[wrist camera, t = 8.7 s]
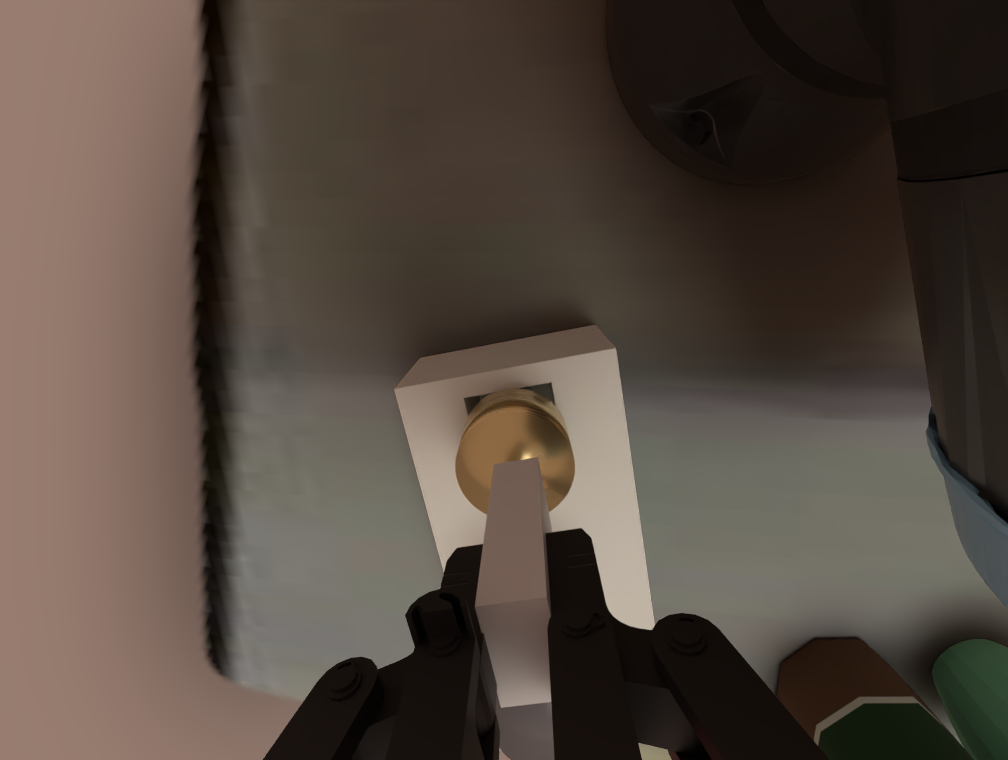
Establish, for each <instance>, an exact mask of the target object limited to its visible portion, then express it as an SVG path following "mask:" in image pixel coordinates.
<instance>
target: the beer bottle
mask: <svg viewBox="0 0 1008 760" xmlns="http://www.w3.org/2000/svg"><path fill="white" fill-rule="evenodd" d="M777 698H778V699H779V701H780V702H781V703H782V704H783V705H784V706H785V708H786V709H787V710H788V711H789V712H790V713H791V715H792V716H793V717H794V718H795V719H796V721H797V722H798V723H799V724H800V725H801V726H802V728H803V729H804V730H805V731H806V732H807V733H808V735H809V736H810V737H811V738H812V739H813V741H814V742H815V743H816V744H817V745H818V746H819V748H820V749H821V750H822V751H823V752H824V753H825V755H826V756H827V757H828V758H829V759H830V760H974V759H973V758H972V757H971V756H970V755H969V754H968V752H967V751H966V750H965V749H964V748H963V747H962V745H961V744H960V743H959V742H958V741H957V740H956V739H955V737H954V736H953V735H952V734H951V733H950V732H949V731H948V729H947V728H946V727H945V726H944V725H943V724H942V723H941V721H940V720H939V719H938V718H937V717H936V716H935V715H934V713H933V712H932V711H931V710H930V709H929V708H928V706H927V705H926V704H925V703H924V702H923V701H922V700H921V698H920V697H919V696H918V695H917V694H916V693H915V692H914V690H913V689H912V688H911V687H910V686H909V685H908V684H907V683H906V682H905V681H904V680H903V679H902V678H901V677H900V676H899V675H898V674H897V673H896V672H895V671H894V669H893V668H892V667H891V666H890V665H889V664H887V663H886V662H885V661H884V660H883V659H882V658H881V657H880V656H879V655H878V654H877V653H876V652H875V651H874V650H872V649H871V648H870V647H869V646H868V645H867V644H866V643H865V642H864V641H862V640H860V639H814V640H813V641H811V642H810V643H809V644H807V645H806V646H804V647H803V648H801V649H800V650H799V651H797V652H796V653H794V654H793V655H792V656H790V657H789V658H787V659H786V660H784V661H783V662H782V663H781V669H780V676H779V683H778V690H777Z"/></svg>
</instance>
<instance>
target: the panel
mask: <svg viewBox="0 0 1008 760" xmlns="http://www.w3.org/2000/svg"><path fill="white" fill-rule="evenodd" d="M528 386H529V387H530V388H531V389H532V390H533V391H534V392H536V393H539V394H541V395H543V396H544V397H546V398H547V399H549V400H550V401H551V402H552V403H553V404H554V405H555V406H556V407H557V408H558V410H559V411H560V412H561V414H562V416H563V418H564V420H565V423H566V427H567V431H568V435H569V439H570V443H571V447H572V451H573V455H574V459H575V475H574V480H573V483H572V486H571V488H570V490H569V492H568V494H567V495H566V497H565V498H564V500H563V501H562V502H561V503H560V504H559V505H558V506H557V507H556V508H554V509H553V510H552V511H550V512H549V516H550V521H551V526H552V532H557V531H564V530H571V529H577V528H582V529H583V530H584V531H585V532H586V533H587V534H588V535H589V536H590V537H591V538H592V543H593V547H594V552H595V556H596V561H597V565H598V570H599V574H600V579H601V583H602V588H603V592H604V597H605V601H606V605H607V607H608V610H609V611H610V613H611V614H612V615H613V616H614V617H615V618H616V619H617V620H619V621H620V622H622V623H624V624H626V625H628V626H631V627H636V628H640V629H647V630H652V629H653V627H654V626H655V624H654V617H653V610H652V603H651V596H650V589H649V581H648V574H647V567H646V560H645V553H644V546H643V538H642V531H641V524H640V517H639V510H638V502H637V495H636V488H635V481H634V474H633V467H632V459H631V452H630V445H629V438H628V431H627V424H626V416H625V409H624V402H623V395H622V388H621V380H620V373H619V366H618V359H617V352H616V348H615V346H614V345H613V344H612V343H611V342H610V341H609V340H608V338H607V337H606V336H605V335H604V334H603V333H602V332H601V330H600V329H599V328H598V327H597V326H596V325H590V326H585V327H580V328H575V329H569V330H564V331H559V332H554V333H548V334H543V335H538V336H532V337H527V338H522V339H517V340H511V341H506V342H501V343H495V344H490V345H485V346H480V347H474V348H469V349H464V350H459V351H453V352H448V353H443V354H437V355H432V356H427V357H422V358H419V360H418V361H417V362H416V363H415V364H414V366H413V367H412V368H411V369H410V370H409V372H408V373H407V374H406V375H405V376H404V378H403V379H402V380H401V381H400V382H399V384H398V385H397V386H396V387H395V388H394V391H395V395H396V398H397V402H398V406H399V409H400V413H401V417H402V420H403V424H404V428H405V431H406V435H407V439H408V443H409V446H410V450H411V454H412V457H413V461H414V465H415V468H416V472H417V476H418V479H419V483H420V487H421V490H422V494H423V498H424V501H425V505H426V509H427V512H428V516H429V520H430V523H431V527H432V531H433V534H434V538H435V542H436V545H437V549H438V553H439V556H440V560H441V564H442V567H443V571H444V570H445V566H446V562H447V560H448V558H449V557H450V556H451V555H452V553H453V552H454V551H455V550H456V548H459V547H466V546H472V545H479V544H483V542H484V534H485V527H486V519H487V515H486V514H484V513H483V512H481V511H480V510H478V509H477V508H475V507H474V506H473V505H472V504H471V503H470V502H469V501H468V500H467V498H466V497H465V496H464V494H463V493H462V491H461V489H460V487H459V484H458V481H457V478H456V472H455V461H456V455H457V451H458V448H459V444H460V441H461V437H462V434H463V431H464V427H465V424H466V421H467V418H468V416H469V414H470V413H471V411H472V410H473V408H474V407H475V406H476V405H477V404H478V403H479V402H480V401H481V400H482V399H484V398H485V397H486V396H488V395H490V394H492V393H494V392H497V391H500V390H504V389H512V388H522V387H528ZM499 750H501V749H500V748H499Z"/></svg>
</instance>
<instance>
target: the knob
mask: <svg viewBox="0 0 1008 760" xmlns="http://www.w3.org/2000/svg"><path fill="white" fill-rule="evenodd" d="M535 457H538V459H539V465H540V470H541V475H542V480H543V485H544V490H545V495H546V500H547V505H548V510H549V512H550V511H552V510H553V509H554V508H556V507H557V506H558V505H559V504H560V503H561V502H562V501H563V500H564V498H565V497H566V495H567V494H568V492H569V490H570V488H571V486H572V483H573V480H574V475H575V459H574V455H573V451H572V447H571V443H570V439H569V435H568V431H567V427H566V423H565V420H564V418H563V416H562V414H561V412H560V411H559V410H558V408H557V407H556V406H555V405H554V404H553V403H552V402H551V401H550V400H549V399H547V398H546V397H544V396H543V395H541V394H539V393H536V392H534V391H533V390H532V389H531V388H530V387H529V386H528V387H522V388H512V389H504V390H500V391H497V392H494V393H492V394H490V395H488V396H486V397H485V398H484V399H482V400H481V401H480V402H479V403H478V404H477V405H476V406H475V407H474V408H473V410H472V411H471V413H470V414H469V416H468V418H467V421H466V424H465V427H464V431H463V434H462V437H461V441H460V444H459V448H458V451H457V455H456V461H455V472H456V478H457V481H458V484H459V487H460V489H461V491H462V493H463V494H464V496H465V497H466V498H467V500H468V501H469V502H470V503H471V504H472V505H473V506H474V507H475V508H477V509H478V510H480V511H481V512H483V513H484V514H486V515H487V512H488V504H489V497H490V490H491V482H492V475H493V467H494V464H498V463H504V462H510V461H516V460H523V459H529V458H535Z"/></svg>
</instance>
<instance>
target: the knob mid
mask: <svg viewBox="0 0 1008 760" xmlns="http://www.w3.org/2000/svg"><path fill="white" fill-rule="evenodd" d="M496 715H497V719H498V723H499V729H500V745H499V748H500V749H501V750H502V752H503V753H504V754H505V755H506V756H507V757H508V758H510V759H511V760H554V742H553V723H552V705H551V702H546V703H538V704H529V705H521V706H512V707H504V708H501V706H500V702H499V698H498V695H496Z"/></svg>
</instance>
